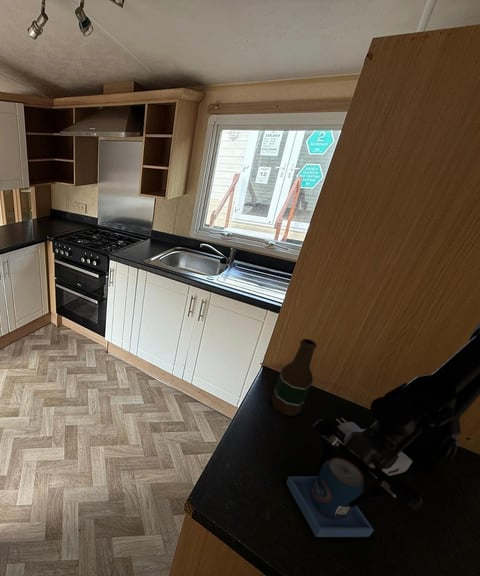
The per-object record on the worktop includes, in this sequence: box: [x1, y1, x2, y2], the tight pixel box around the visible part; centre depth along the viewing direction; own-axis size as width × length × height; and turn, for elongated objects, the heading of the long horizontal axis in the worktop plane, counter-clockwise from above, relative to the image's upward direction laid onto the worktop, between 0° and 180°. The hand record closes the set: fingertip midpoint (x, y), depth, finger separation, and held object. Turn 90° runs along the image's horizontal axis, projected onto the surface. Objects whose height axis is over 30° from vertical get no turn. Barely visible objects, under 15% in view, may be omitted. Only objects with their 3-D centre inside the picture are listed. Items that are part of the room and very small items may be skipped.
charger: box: [335, 417, 413, 479], centre depth 81 cm, size 5×9×15 cm
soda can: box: [310, 457, 365, 520], centre depth 65 cm, size 7×7×12 cm
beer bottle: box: [271, 338, 317, 417], centre depth 89 cm, size 8×8×24 cm
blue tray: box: [285, 475, 375, 538], centre depth 68 cm, size 11×11×3 cm
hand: (332, 489), depth 65 cm, fingers closed on soda can, 7 cm apart
